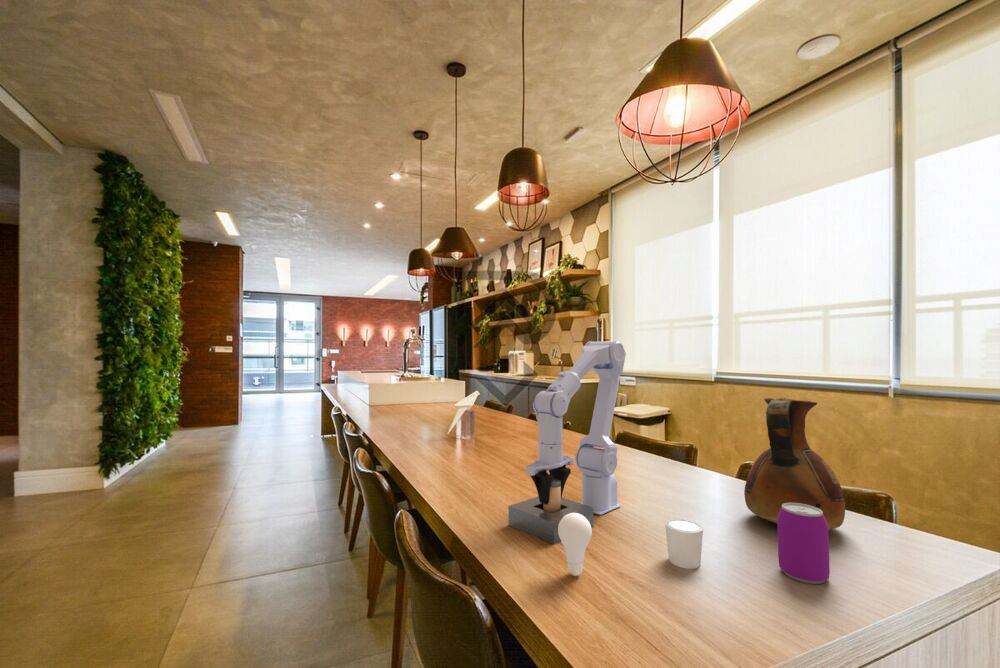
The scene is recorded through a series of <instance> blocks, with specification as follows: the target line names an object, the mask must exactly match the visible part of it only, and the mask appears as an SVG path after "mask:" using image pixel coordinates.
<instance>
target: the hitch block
mask: <svg viewBox="0 0 1000 668" xmlns="http://www.w3.org/2000/svg"><path fill="white" fill-rule="evenodd" d="M581 503H582V502H577V501H574V500H570V499H567V498H564V497H562V498H561V510H559V511H557V512H554V513H550V512H547V511H544V510H543V503H540V500H539V496H535V497H532V498H529V499H526V500H523V501H520V502H519V501H518V502H517V503H514V504H510V505H508V506H507V507H508V511H507V512H508V514H507V515H508V516H507V518H508V526H509V527H512V528H514V529H516V530H519V531H520V532H523V533H526V534H527V535H530V536H533V537H534V538H535V537H536V538H537V539H541V540H542V541H545V542H547V543H549V544H552V545H556V544H559V543H560V542H561V539H560V537H559V534H558V525H559V523H560V521H561V519H562V518H563V517H564V516H565V515H567V514H569V513H579V514H581V515H583V516H584V517H585V518H586V519H587V520H588V521H589V523H590V525H591V529H592V528H594V513H593V507H590V506H587V505H584V504H581ZM561 543H562V542H561Z"/></svg>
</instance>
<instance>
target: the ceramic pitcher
mask: <svg viewBox="0 0 1000 668" xmlns="http://www.w3.org/2000/svg"><path fill="white" fill-rule="evenodd" d="M764 401H765V403H766V404H767V408H766V411H765V414H766V416H765V417H766V418H765V419H766V420H765V421H766V422H765V423H766V428H767V436H768V440H769V448H767V449H765V450H764V451H763V452H761V454H759V456H758V457H757V458H756V459H755V460H754V463H753V464H752V466H751V467H750V469H749V472H748V475H747V478H746V481H745V484H744V493H743V494H744V495H743V496H744V501H745V505H746V507H747V509H748V510H749V511H750V512H751V513H752V514H754V515H756V516H757V517H759V518H761V519H763V520H766V521H769V522H772V523H773V524H777V525H778V521H777V517H778V514H779V512H780V510H781V507H782V504H784V503H801V504H806V505H810V506H814V507H816V508H819V509H820V510H822V512H823V515H824V517H825V519H826V521H827V524H828V531H831V530H834V529H837V528H840V527H841V526H842V525H843V523H844V521H845V517H846V502H845V496H844V493H843V490H842V489H843V488H842V487H841V484H840V482H839V479H838V477H837V476H836V474H835V472H834V471H833V469H832V468H831V467H830V465H829V464H828V463H827V462H826V460H824V459H823V457H822V456H821V455H820V454H818V453H817V452H815V451H814V450H813V449H812V448H811V446H809V443H808V440H807V438H806V437H807V436H806V432H805V431H806V417H807V414H808V413H809V412H810V410H812V409H813V408H814V407H815V406H817V405H818V402H816V401H811V400H802V399H792V398H786V397H779V398H770V397H769V398H764Z"/></svg>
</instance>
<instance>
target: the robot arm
mask: <svg viewBox="0 0 1000 668" xmlns="http://www.w3.org/2000/svg"><path fill="white" fill-rule="evenodd" d="M626 354H627V353H626V350H625V347H624V346H623V343H622V342H621V341H619V340H612V341H611V340H609V341H608V340H607V341H606V340H605V341H593V340H590V341H587V342H586V343H585V345H583V347H582V348H581V355H580V356H579V357H578V359H577V360H576V361H575V363H574V364H573V366H572V367H571V368H570V370H563V371H560V372H559V374H558V376H557V378H555V379H554V381H553V382H552V383H551V384H550V385H549V386H548V387H547V389H546V390H542V391H541V390H540V391H539V392H538V393H537V394H536V395H535V397H534V400H533V402H532V408H533V411H534V412H535V419H536V421H537V426H538V429H537V431H538V432H537V434H538V436H537V438H538V441H537V445H538V449H537V451H538V454H537V456H538V457H537V458H535V461H534V462H532V463H530V464H527V465H525V470H526V471H525V472H526V473H525V474H526V475H528V476H530V478H531V480H532V481H533V483H534V485H535V488H536V491H537V495H538V496H539V500H540V503H543V504H548V503H549V494H550V485H551V481H552V478H556V479H559V480H561V498H563V493H564V488H565V485H566V482H567V481H568V478H569V476H570V475H571V472H572V471H571V468H570V467H567V466H573V465H574V461H575V465H576V467H577V468H578V469H579V473H581V502H580V503H581V504H584V505H587V506H590V507H593V514H595V515H598V516H602V515H604V514H606V513H609V512H611V511H613V510H616V509H618V508H620V507H621V504H619V503H618V480H617V478H616V476H615V474H614V473H615V471H616V469H617V466H618V457H617V454H618V452H617V451H618V448H617V446H616V445H615V443H614V442H613V441H612V440H611V439H610V436H611V432H612V431H611V429H612V424H613V419H614V412H615V408H616V401H617V396H618V390H619V384H620V379H621V375H622V374H623V372H624V366H625V361H626ZM590 371H592V372H594V373H595V374H597V375H598V377H599V381H598V385H597V386H598V387H597V391H596V395H595V396H596V397H595V400H594V401H595V402H594V406H593V413H592V418H591V422H590V428H589V433H588V434H587V435H586V436H584V437H582V438H581V439H580V440H579V441H580V442H579V446H578V448H577V449H576V451H575V455H574V457H573V456H569V455H563V454H564V451H563V450H564V447H563V443H564V442H563V441H564V440H563V437H564V436H563V431H564V430H563V421H564V420H563V419H564V418H563V416H564V415H565V414H566V413H567V412H568V408H569V404H570V403H571V399H572V398H573V396H574V395H575V394H576V393H577V392H578V391H579V389H580V388H581V386H582V385H581V384H582V383H581V380H583V378H584V377H585V376H586V375H587V374H588V373H589V372H590ZM538 496H537V497H538Z"/></svg>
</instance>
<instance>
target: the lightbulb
mask: <svg viewBox="0 0 1000 668" xmlns="http://www.w3.org/2000/svg"><path fill="white" fill-rule="evenodd" d="M558 534H559V537H560V539H561V543H562V545H563V549H564V550H565V558H566V561H567V571H568V573H569V574H570V575H572V576H574V577H577V576H579V575H581V574H582V573H583V563H584V561H585V560H584V559H585V552H586V550H587V547H588V545H589V543H590V542H591V539H592V535H593V529H592V528H591V525H590V523H589V521H588V520H587V519H586V518H585V517H584V516H583V515H581V514H579V513H569V514H567V515H565V516H564V517H563V518H562V519H561V521H560V523H559V525H558Z"/></svg>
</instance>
